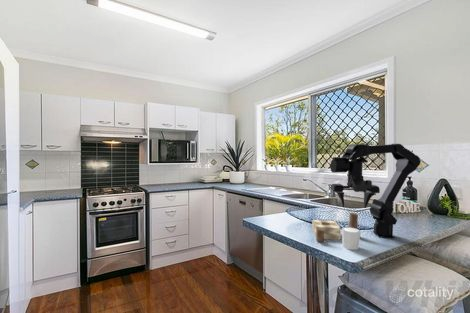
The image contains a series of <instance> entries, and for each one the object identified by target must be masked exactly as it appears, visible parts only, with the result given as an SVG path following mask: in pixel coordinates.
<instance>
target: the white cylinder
mask: <svg viewBox="0 0 470 313" xmlns="http://www.w3.org/2000/svg"><path fill="white" fill-rule="evenodd" d="M361 233H362V231H361V229H359V228H357V229H356V228H352V227H349V226H343V227H341V239H342V247H343V248H344V247H345V248H344V249H346V248H347V250H350V249H351V250H352V251H357V250H359V246H360V240H361V239H360V238H361Z"/></svg>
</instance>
